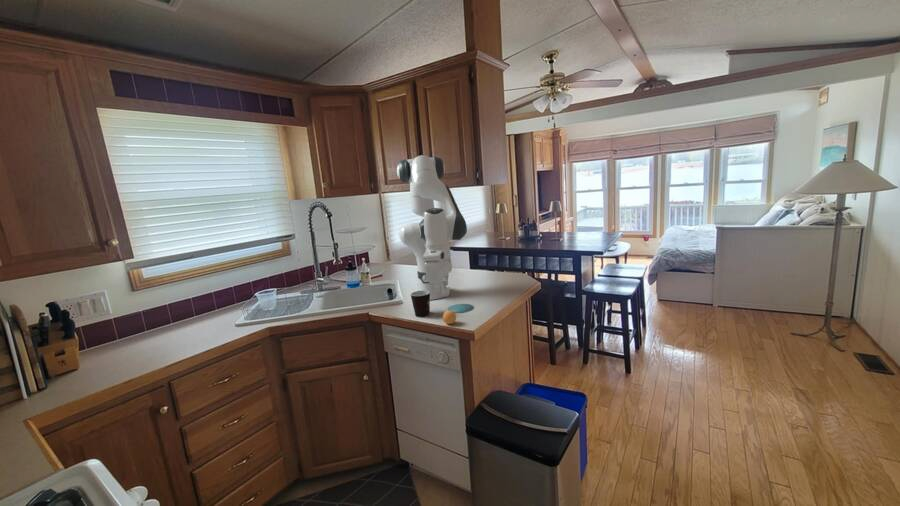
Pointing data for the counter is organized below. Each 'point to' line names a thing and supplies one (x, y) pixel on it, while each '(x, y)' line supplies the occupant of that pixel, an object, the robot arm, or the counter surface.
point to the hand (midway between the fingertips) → (442, 288)
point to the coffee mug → (421, 303)
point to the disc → (460, 308)
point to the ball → (449, 317)
